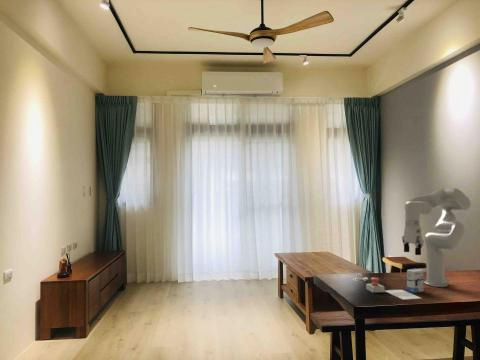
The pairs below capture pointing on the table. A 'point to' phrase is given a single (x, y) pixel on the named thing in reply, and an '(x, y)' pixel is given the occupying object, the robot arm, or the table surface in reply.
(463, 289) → the table surface
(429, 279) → the robot arm
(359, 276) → the white ring with cylinder
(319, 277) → the table surface
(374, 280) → the button
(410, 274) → the ink box
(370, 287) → the button housing
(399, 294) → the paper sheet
